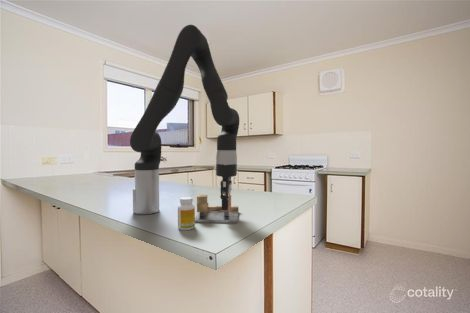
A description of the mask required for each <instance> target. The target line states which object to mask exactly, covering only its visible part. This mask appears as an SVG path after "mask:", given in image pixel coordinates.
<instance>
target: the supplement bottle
mask: <svg viewBox="0 0 470 313" xmlns="http://www.w3.org/2000/svg"><path fill="white" fill-rule="evenodd" d="M193 199H194V198H193V197H192V196H191V197H190V196H182V197H180V198H179V203H180V204H179V205H177V228H178V229H179V230H181V231H190V230H193V229H194V228H195V227H196V225H195V224H196V222H195V218H196V217H195V216H196V215H195V214H196V212H195V211H196V210H195V209H196V208H195V204H194V203H193Z"/></svg>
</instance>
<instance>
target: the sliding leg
mask: <svg viewBox="0 0 470 313" xmlns="http://www.w3.org/2000/svg"><path fill="white" fill-rule="evenodd" d="M231 206H232V195H231V194H230V195H229V199H228V210H227V211H225V210H222V211H224V216H229V211H231Z"/></svg>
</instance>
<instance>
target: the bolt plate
mask: <svg viewBox="0 0 470 313" xmlns="http://www.w3.org/2000/svg"><path fill="white" fill-rule="evenodd" d="M195 216H196V217H195V223H207V224H208V223H209V224H210V223H212V224H214V223H215V224H224V223H225V224H237V223H238V219H239V211H238V212H229V216H224V211H206V212H205V216H200V212H198V213H197V214H196V215H195Z"/></svg>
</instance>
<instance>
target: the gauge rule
mask: <svg viewBox="0 0 470 313" xmlns="http://www.w3.org/2000/svg"><path fill="white" fill-rule="evenodd" d="M206 211H222V205H209V202H208V194H198V195H196V213H199V212H200V216H205V212H206ZM229 212H238V213H239V206H238V205H235V206H233V205H231V211H229Z"/></svg>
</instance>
